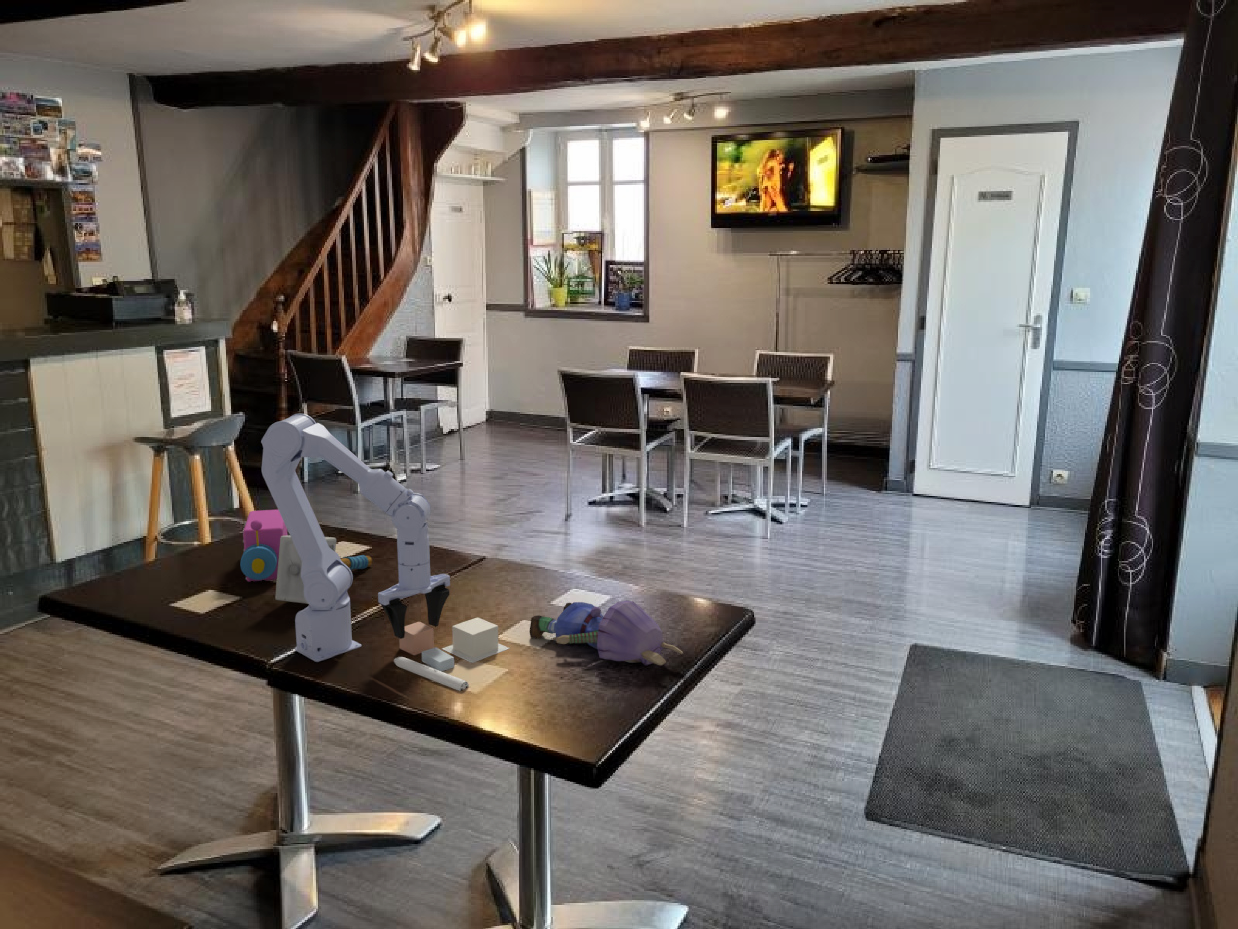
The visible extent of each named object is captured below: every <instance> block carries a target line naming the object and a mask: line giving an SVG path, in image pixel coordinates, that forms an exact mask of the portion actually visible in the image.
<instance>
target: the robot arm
mask: <svg viewBox="0 0 1238 929" xmlns="http://www.w3.org/2000/svg"><path fill="white" fill-rule="evenodd" d="M260 440H261V441H260V443H261V444H262V448H263V449H262V460H261V474H262V477H263V479H264V481H265V484H266V486H267V488H268V490H269V492H270V495H271V497H272V498H273V501H274V504H275V506H276V507H277V510H279V512H280V514H281V517H282V519H283V521H284V523H285V525H286V528H287V533H288V535H290V536H291V539H292V541H293V543H294V545H295V547H296V550H297V552H298V554H299V556H300V558H301V561H302V566H301V578H302V581H303V584H304V597H305V599H306V601H307V603H308V604H307V605H308V606H307V607H305V608H304V609H302V610H299V611H298V612H297V613H296V614H295V618H294V622H295V623H294V625H295V626H294V627H295V638H296V639H295V641H296V646H295V648H294V651H296V652H298V653H299V654H302V655H303V656H305V657H306V658H308V659H309V660H312V661H313V662H315V663H319V662H321V661H325V660H328V659H330V658H333V657H336V656H338V655H342V654H343V653H344V654H345V653H346V652H350V651H352V650H356V649H359V648H362V646H363V645H362V644H361V643H359V642H358V641H355V640H353V637H352V632H353V631H352V620H351V619H352V618H351V616H352V614H351V598H350V595H349V594H348V590H349V589H350V588H351V586H352V584H353V581H354V580H353V579H354V575H353V572H352V570H350V569H349V567H348V566H347V565H345V564H344V563H343V562H342V561H341V559H342V558H341V557H340V554H339V553H338V552H336V550H335V551H333V550H332V549H330V548H329V546H328V544H327V541H326V539H325V537H326V536H325V534H324V532H323V531H322V529H321V528H322V527H321V526H320V524H319V521H318V519H317V517H316V515H315V513H314V510H313V508H312V506H311V503H310V501H309V498H308V497H307V494H306V491H305V490H304V488H303V485H302V484H301V481H300V479H299V476H298V474H297V472H296V469H297V467H298V465H299V464H300V462H301V460H302V458H321V459H323V460H324V461H326V462H327V463H329V464H330V465H332V466H333V467H334V468H336V469H337V470H339V471H340V472H341V473H343V474H344V475H346V476H348V477H349V478H350V479H351V480H353V481H354V482H356V483H357V484H358V488H359V493H360V494H361V495H362V496H363V497H364V498H366V499H367V500H368V501H370V502H371V503H372V505H375V507H377V508H379V509H380V510H381V511H382V512H383V513H385V514H386V515H387V516H390V517H391V522H392V525H393V527H394V528H395V529H396V533H397V534H396V535H397V538H396V546H397V547H396V550H397V571H398V572H397V573H398V583H396V584H395V585H392V586H391V587H389V588H387V589H385V590H383V591H380V592H379V591H378V593H377V598H378V601H377V602H378V604H380V606H381V608H382V609H383V610H384V612H385V614H386V615H387V617H388V619H389V622H390V624H391V627H392V630H393V634H394V637H396V638H398V639H399V638H400V639H402V638H404V636H405V626H406V625H405V622H406V621H405V620H406V612H407V608H408V605H406V604H404V603H403V602H402V601H401V600H402V599H405V598H408V597H412V596H415V595H418V594H424V597H425V601H426V605H427V606H426V607H427V608H426V609H427V621H428V625H429V626H431V627H433V628H434V627H435V628H436V627H439V624H440V618H441V615H442V613H443V612H442V610H443V608H444V606H445V603H446V601H447V599H448V598H449V597H450V589H449V588H446V587H450V586H451V577H450V576H451V575H448V574H446V573H440V574H434V575H431V558H430V557H431V555H430V553H431V552H430V536H429V523H428V522H427V521H428V520H429V518H430V516H431V511H432V509H431V508H432V507H431V504H430V501H429V500H428V499H427V498H426V497H425V496H424V494H421V493H418V492H414V490H413V489H411V488H409V489H408V488H406V487H405V486H403V484H401V483H400V482H399V481H397V479H394V478H393V476H394V474H393V472H391V471H390V470H387V471H384V470H383V469H382V468H374V469H373V468H370V467H369V466H368V465H367V464H365V462H363V461H362V460H361V459H360V458H358V456H356V455H355V454H354V453H353V452H352V451H350V449H349V448H347V447H346V446H345V445H344V444H343V443H341V442H340V441H339V440H338V439H337V438H335V436H333V435H332V434H331V433H330V431H329V430H328V429H327V428H326V427H325V426H324V425H323V424H322V423H319V422H316V421H315V419H313V417H311V416H310V415H308V414H306V413H295V414H292V415H291V416H289V417H288V418H285V419H283V420H280V421H276V422H274V423H272V424H271V425H269V427H268V428H267V430H266V431H265V434H264V435H263V437H262V438H261V439H260Z"/></svg>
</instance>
